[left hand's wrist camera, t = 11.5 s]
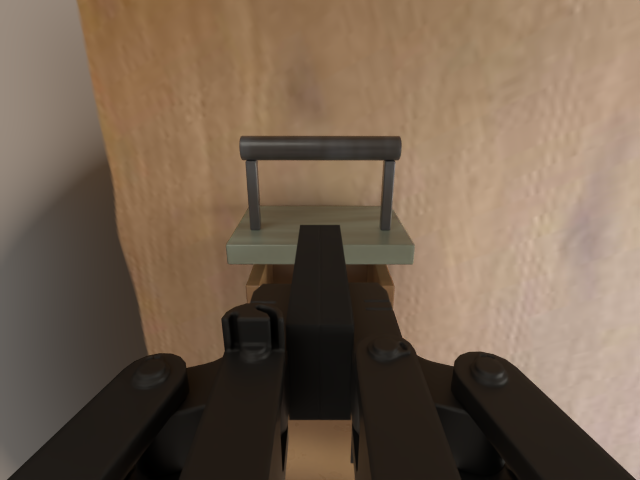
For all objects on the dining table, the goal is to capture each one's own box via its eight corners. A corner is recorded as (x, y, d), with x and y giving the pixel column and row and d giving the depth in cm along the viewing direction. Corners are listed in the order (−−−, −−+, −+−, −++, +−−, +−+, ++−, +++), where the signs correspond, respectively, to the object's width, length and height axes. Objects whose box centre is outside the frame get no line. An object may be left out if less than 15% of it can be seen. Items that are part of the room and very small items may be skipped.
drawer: (243, 127, 26) (215, 141, 19) (396, 127, 26) (425, 142, 19) (262, 398, 34) (247, 477, 27) (377, 398, 34) (392, 477, 27)
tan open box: (250, 298, 32) (224, 379, 23) (389, 298, 32) (416, 379, 23) (263, 464, 39) (246, 575, 30) (376, 464, 39) (393, 575, 30)
